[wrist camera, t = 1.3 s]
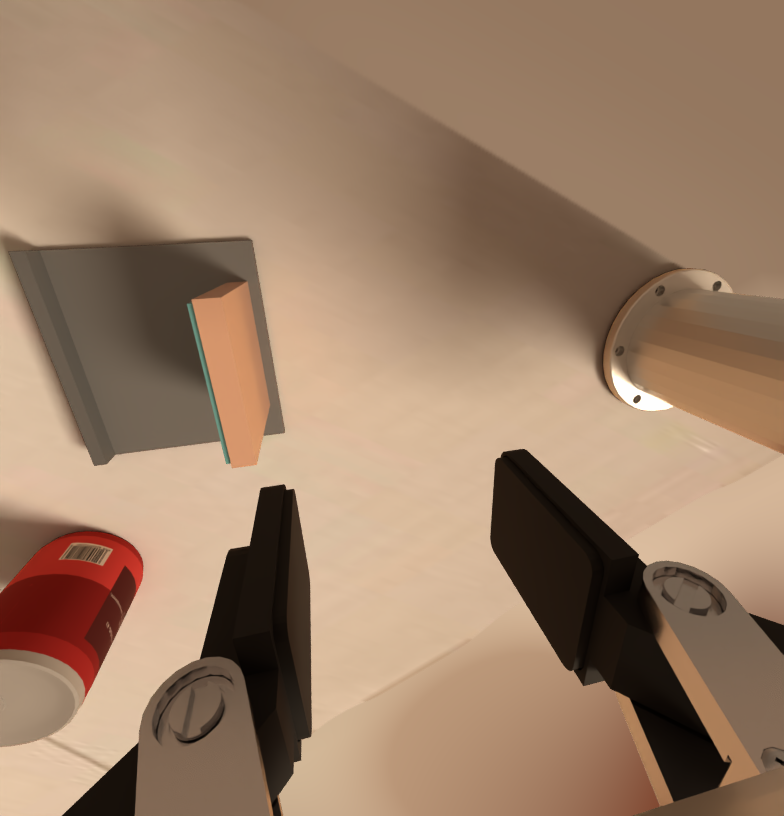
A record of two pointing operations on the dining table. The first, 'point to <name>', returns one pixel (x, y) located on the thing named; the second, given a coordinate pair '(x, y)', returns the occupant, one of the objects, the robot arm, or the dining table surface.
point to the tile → (232, 369)
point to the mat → (137, 338)
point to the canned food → (60, 629)
